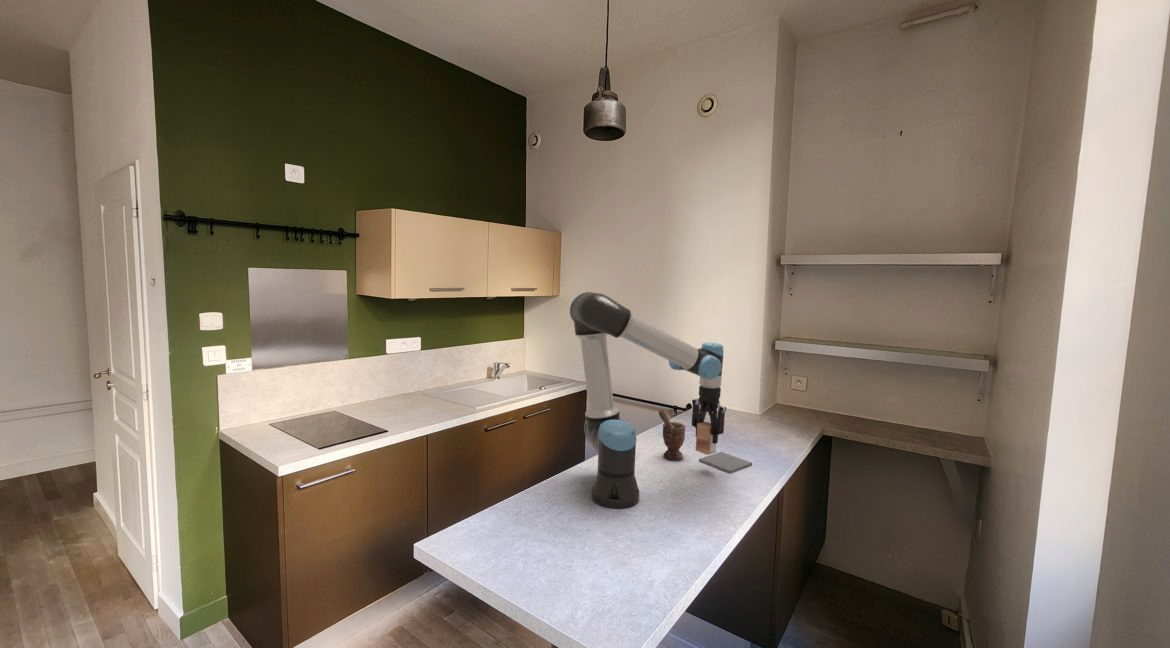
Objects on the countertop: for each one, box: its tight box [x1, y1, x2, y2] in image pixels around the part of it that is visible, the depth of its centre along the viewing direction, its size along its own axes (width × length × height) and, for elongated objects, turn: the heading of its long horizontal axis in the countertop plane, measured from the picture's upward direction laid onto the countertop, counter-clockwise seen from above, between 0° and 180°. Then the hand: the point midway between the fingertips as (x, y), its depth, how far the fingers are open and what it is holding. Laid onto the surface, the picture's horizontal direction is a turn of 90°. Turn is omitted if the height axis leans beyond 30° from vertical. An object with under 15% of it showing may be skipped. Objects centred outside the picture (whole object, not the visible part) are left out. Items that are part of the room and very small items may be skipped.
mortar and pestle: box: [658, 409, 686, 461], centre depth 182 cm, size 12×9×20 cm
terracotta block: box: [695, 421, 717, 456], centre depth 170 cm, size 5×5×10 cm
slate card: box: [698, 451, 753, 474], centre depth 180 cm, size 14×14×1 cm
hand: (705, 449), depth 170 cm, fingers closed on terracotta block, 5 cm apart
